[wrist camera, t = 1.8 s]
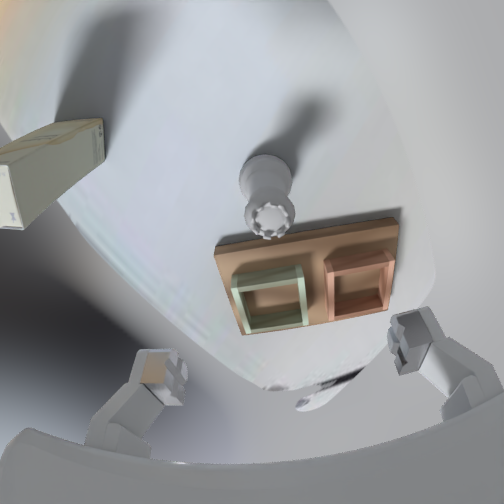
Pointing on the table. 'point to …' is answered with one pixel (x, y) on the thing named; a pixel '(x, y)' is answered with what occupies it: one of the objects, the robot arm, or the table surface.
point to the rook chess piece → (267, 195)
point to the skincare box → (46, 167)
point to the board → (310, 275)
